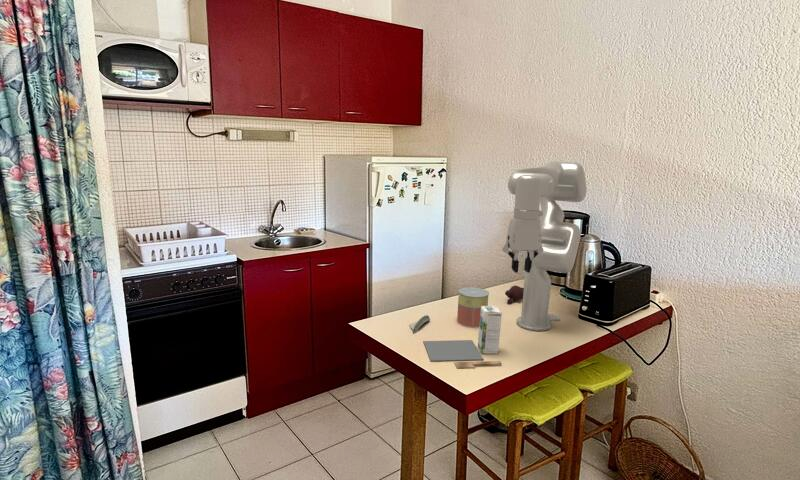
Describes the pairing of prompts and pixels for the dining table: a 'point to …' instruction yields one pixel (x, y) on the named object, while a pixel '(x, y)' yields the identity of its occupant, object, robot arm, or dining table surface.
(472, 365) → the spatula
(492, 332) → the syrup box
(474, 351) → the mat
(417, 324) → the ceramic fragment
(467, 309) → the canned food
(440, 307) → the dining table surface
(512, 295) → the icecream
